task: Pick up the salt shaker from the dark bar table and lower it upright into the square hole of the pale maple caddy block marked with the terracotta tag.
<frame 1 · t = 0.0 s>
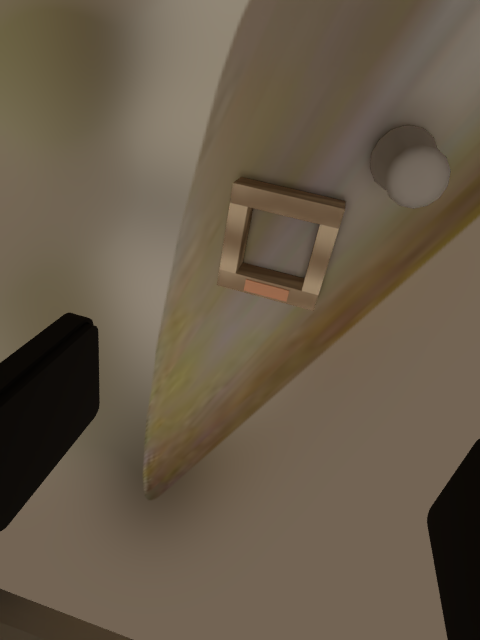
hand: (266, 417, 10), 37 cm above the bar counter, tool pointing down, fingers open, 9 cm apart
salt shaker: (400, 156, 39), on the bar counter
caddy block: (280, 240, 46), on the bar counter
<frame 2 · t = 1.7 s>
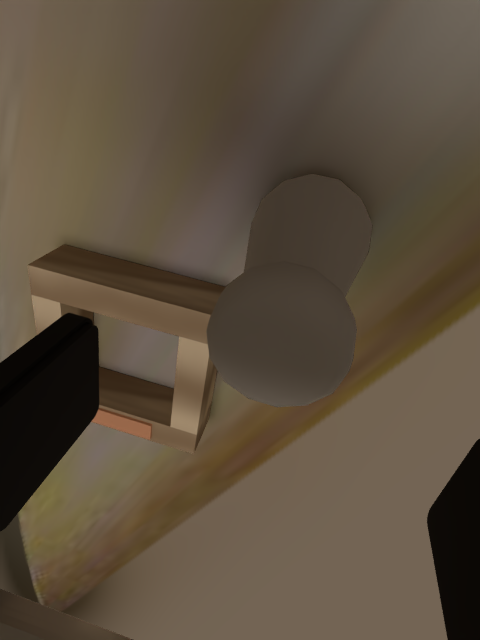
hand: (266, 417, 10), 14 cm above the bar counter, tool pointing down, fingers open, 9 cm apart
salt shaker: (313, 221, 22), on the bar counter
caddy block: (142, 339, 29), on the bar counter
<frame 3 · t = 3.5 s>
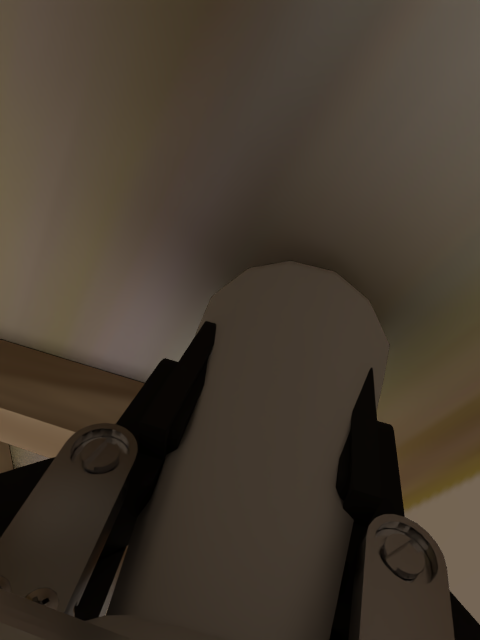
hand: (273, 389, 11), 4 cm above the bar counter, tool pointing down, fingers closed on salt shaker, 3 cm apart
salt shaker: (297, 315, 15), on the bar counter, touching gripper
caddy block: (68, 445, 21), on the bar counter
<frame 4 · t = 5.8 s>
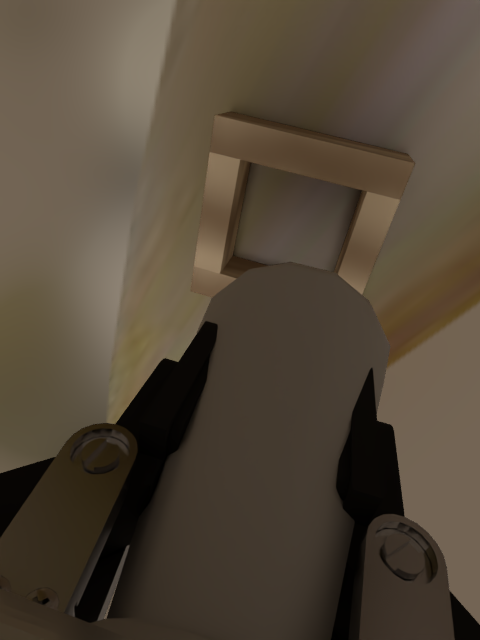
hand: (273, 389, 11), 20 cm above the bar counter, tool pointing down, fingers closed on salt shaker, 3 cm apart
salt shaker: (297, 315, 15), point 15 cm above the bar counter, touching gripper
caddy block: (293, 220, 28), on the bar counter
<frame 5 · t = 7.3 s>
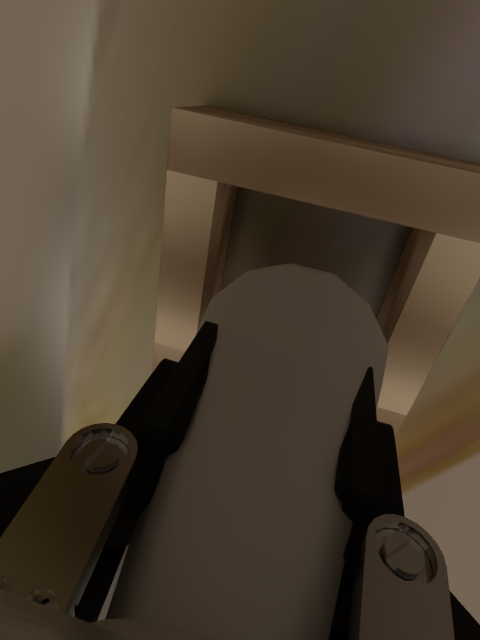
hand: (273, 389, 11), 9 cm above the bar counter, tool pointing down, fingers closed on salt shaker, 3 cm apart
salt shaker: (297, 316, 15), point 5 cm above the bar counter, touching gripper
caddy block: (305, 269, 19), on the bar counter
when the fingers open (5 cm above the bar counter, at t = 8.4 s): salt shaker stays where it is, resting in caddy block.
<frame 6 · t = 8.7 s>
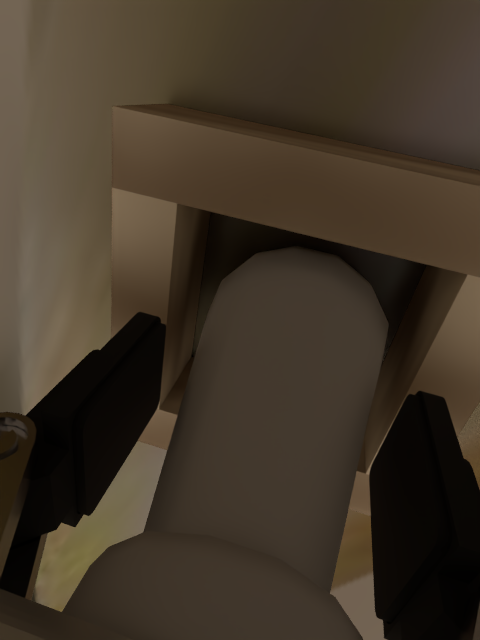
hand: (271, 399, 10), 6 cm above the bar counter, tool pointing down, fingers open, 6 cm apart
salt shaker: (301, 300, 15), resting in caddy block
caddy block: (296, 304, 15), on the bar counter
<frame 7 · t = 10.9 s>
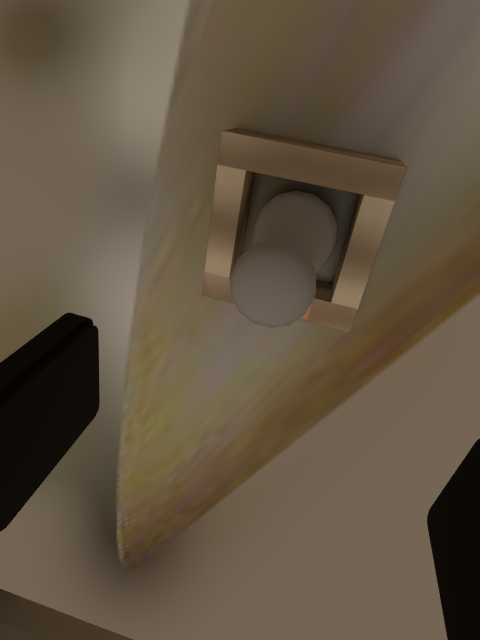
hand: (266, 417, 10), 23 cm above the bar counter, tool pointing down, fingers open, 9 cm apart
salt shaker: (299, 224, 30), resting in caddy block
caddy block: (296, 226, 30), on the bar counter
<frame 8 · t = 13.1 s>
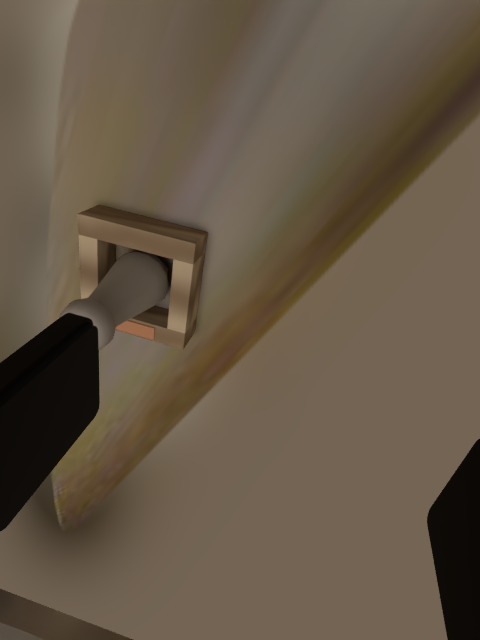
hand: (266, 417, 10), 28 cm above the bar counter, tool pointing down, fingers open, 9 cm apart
salt shaker: (151, 270, 42), resting in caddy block
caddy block: (149, 272, 42), on the bar counter
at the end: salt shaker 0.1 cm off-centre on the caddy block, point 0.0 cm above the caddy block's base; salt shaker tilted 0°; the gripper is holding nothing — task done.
